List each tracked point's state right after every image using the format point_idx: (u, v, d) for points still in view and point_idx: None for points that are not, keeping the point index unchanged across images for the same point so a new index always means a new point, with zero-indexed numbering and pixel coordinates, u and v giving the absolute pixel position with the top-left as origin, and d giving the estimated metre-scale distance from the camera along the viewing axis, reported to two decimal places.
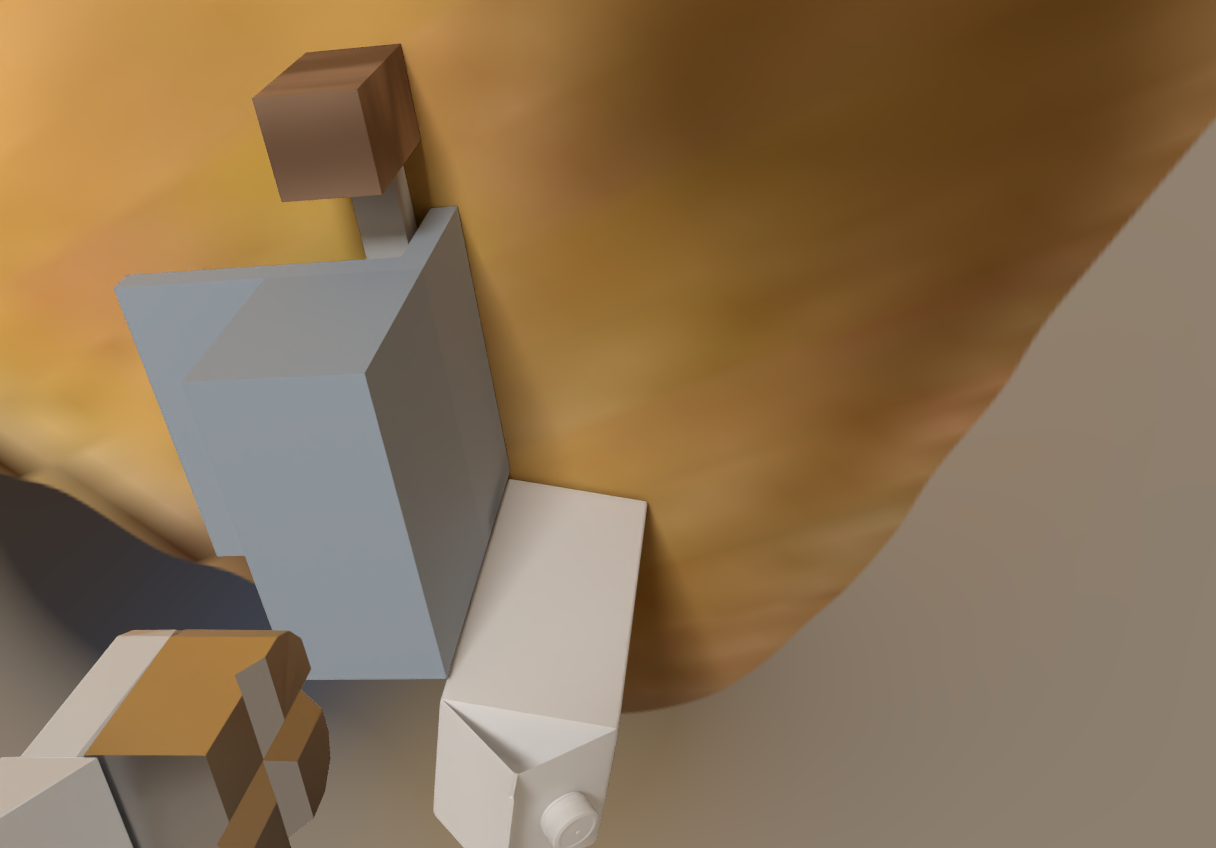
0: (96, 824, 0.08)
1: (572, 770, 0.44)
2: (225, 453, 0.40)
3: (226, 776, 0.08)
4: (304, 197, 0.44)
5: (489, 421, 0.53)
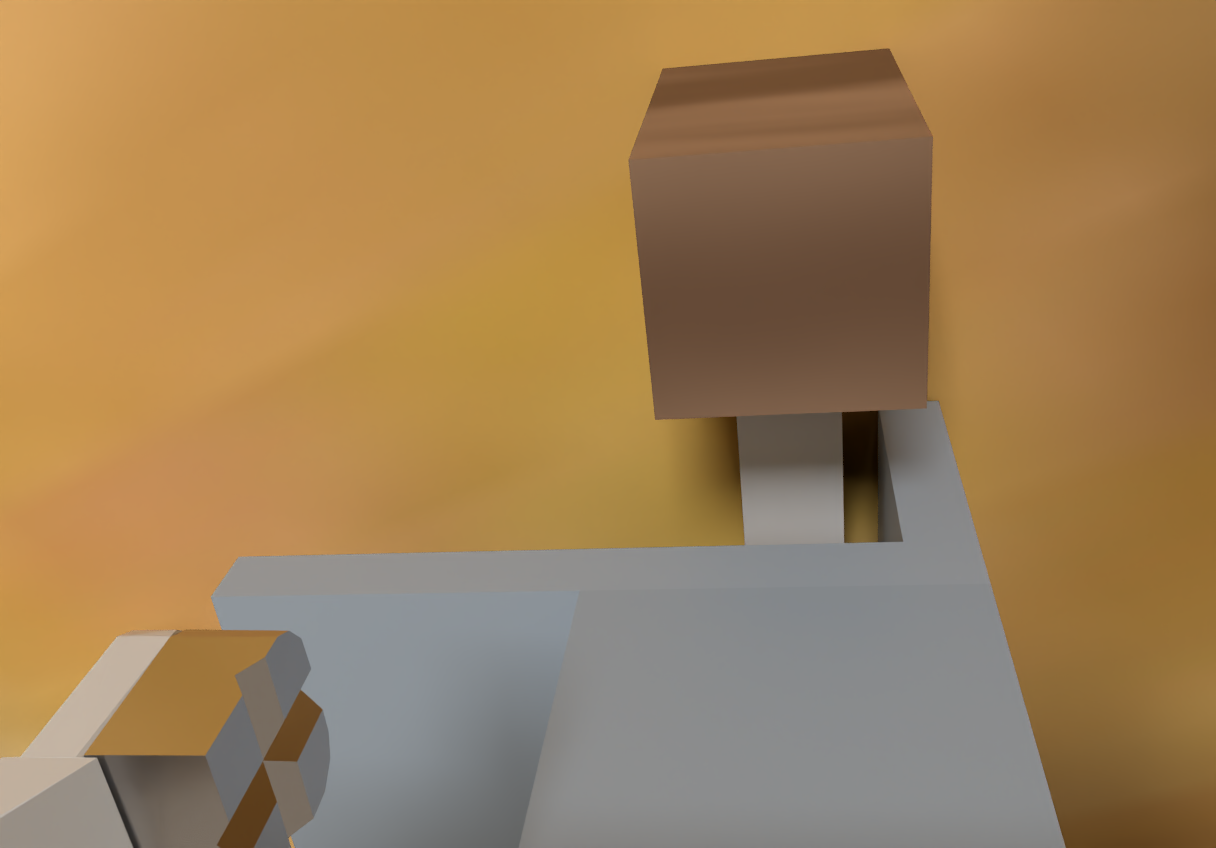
0: (96, 824, 0.08)
1: None
2: None
3: (226, 776, 0.08)
4: (717, 410, 0.17)
5: None
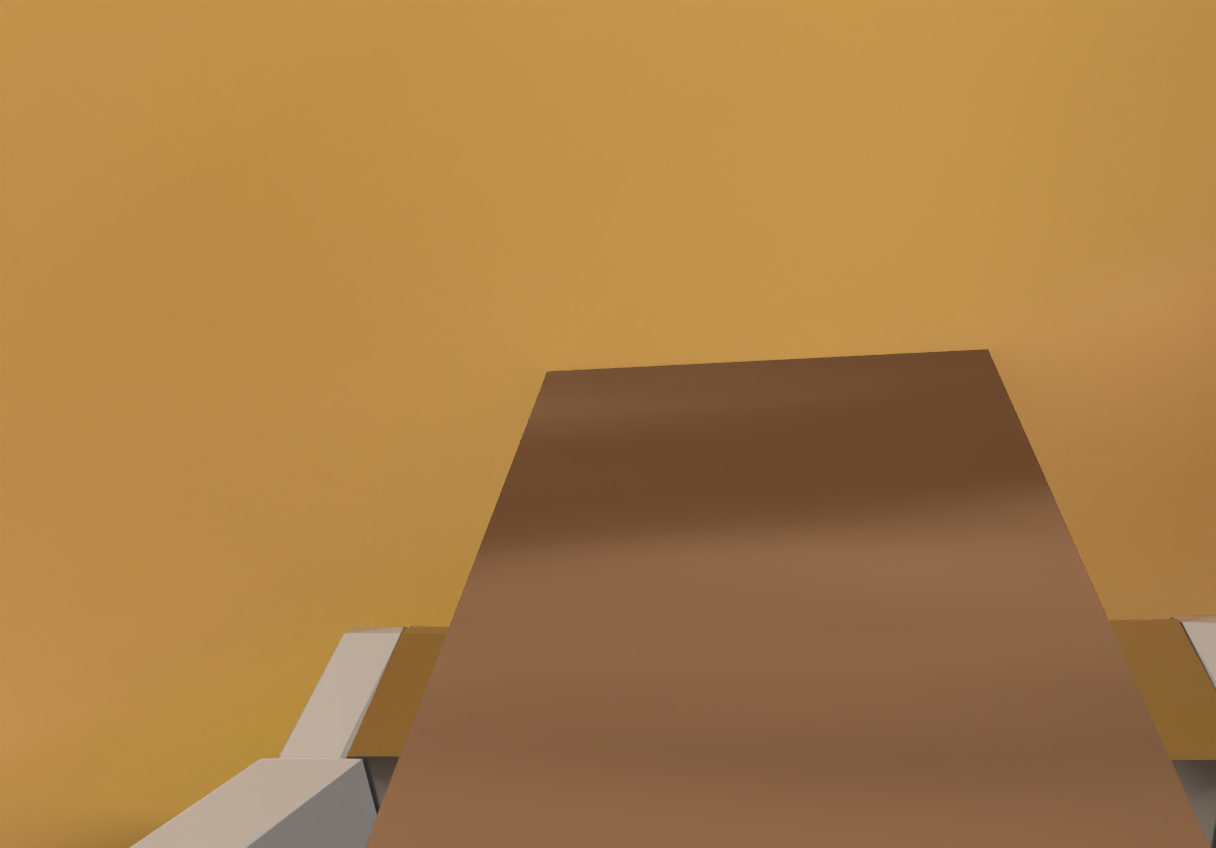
0: (358, 828, 0.08)
1: None
2: None
3: None
4: None
5: None
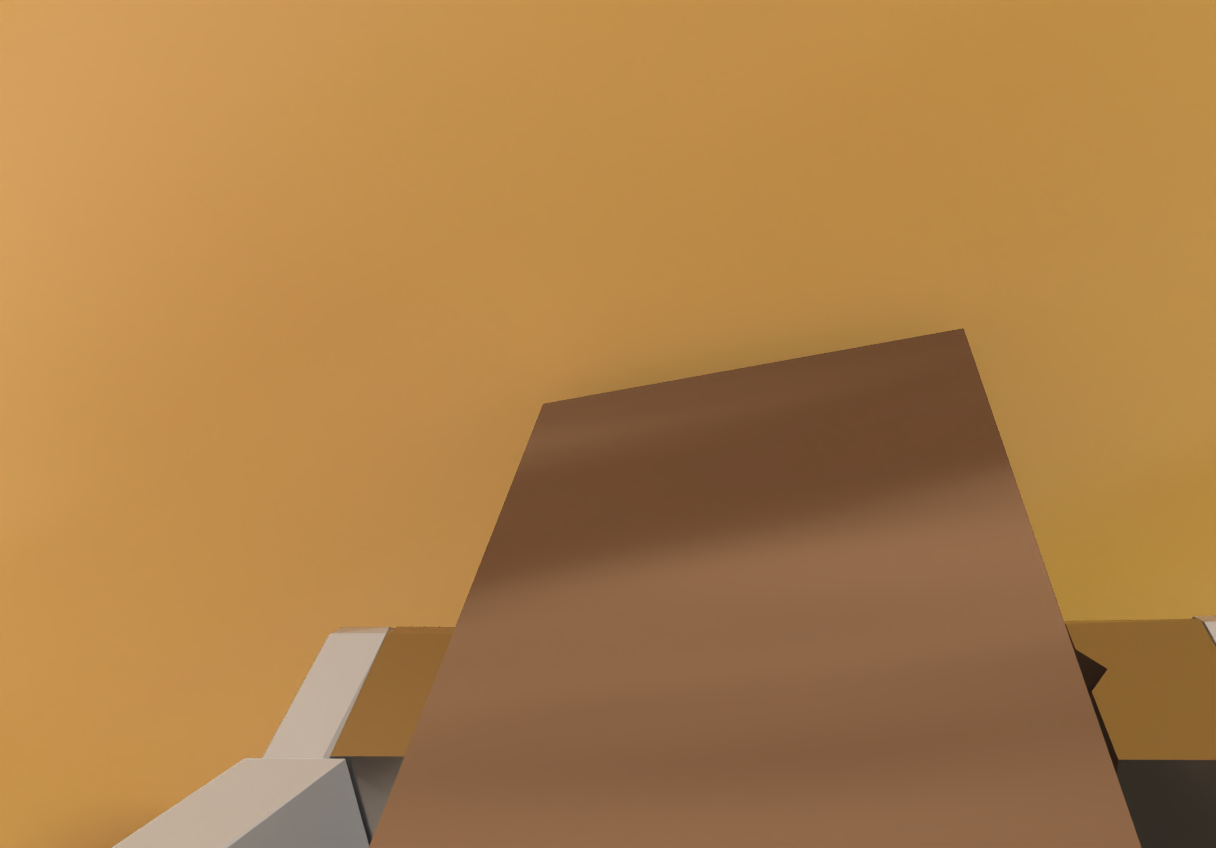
0: (342, 827, 0.08)
1: None
2: None
3: None
4: None
5: None
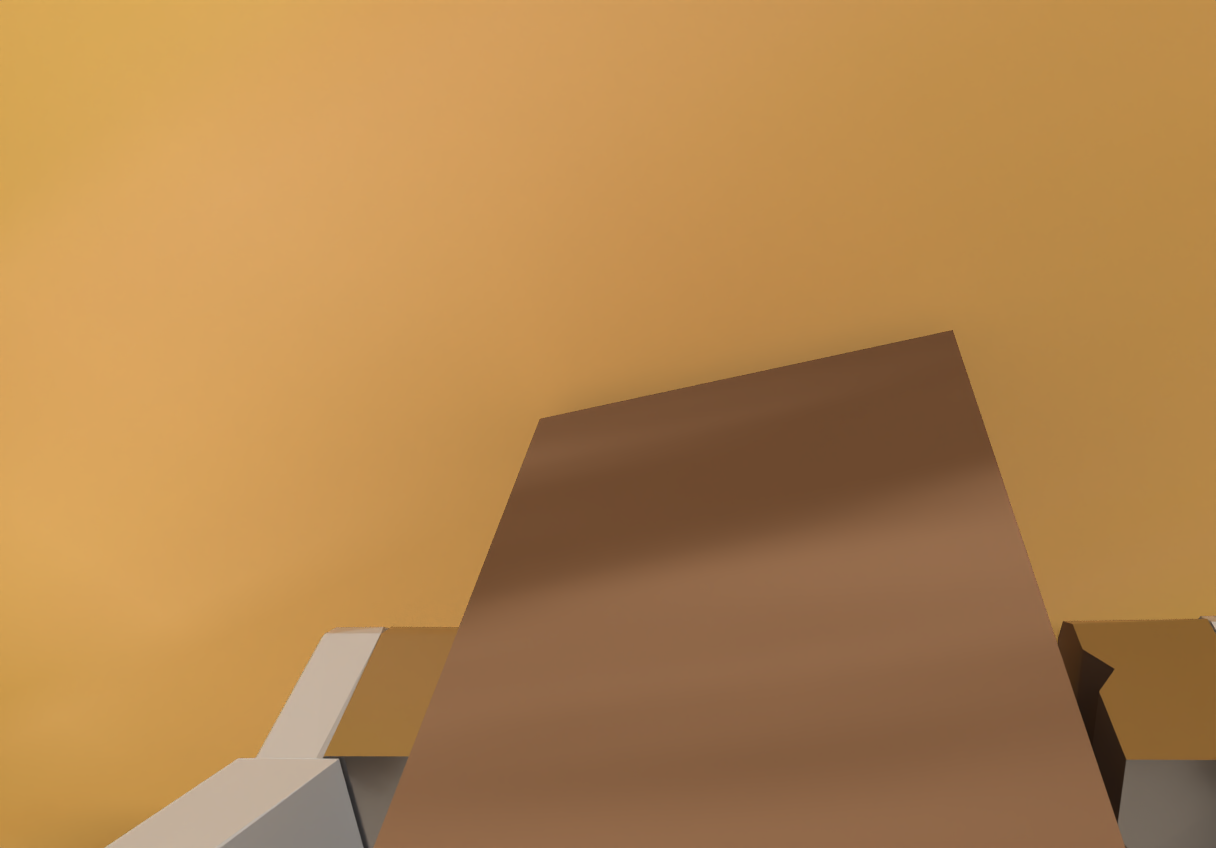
0: (335, 827, 0.08)
1: None
2: None
3: None
4: None
5: None
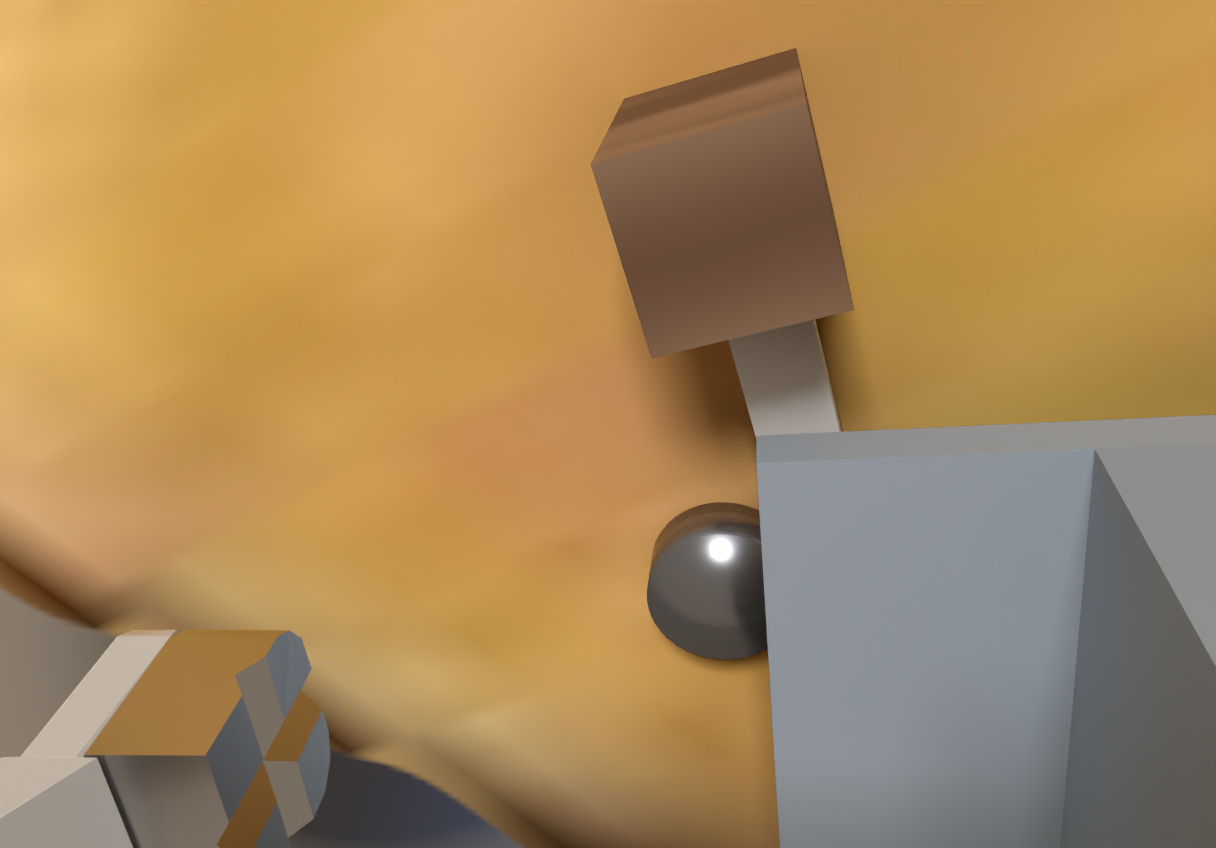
0: (97, 824, 0.08)
1: None
2: None
3: (227, 775, 0.08)
4: (696, 341, 0.22)
5: None
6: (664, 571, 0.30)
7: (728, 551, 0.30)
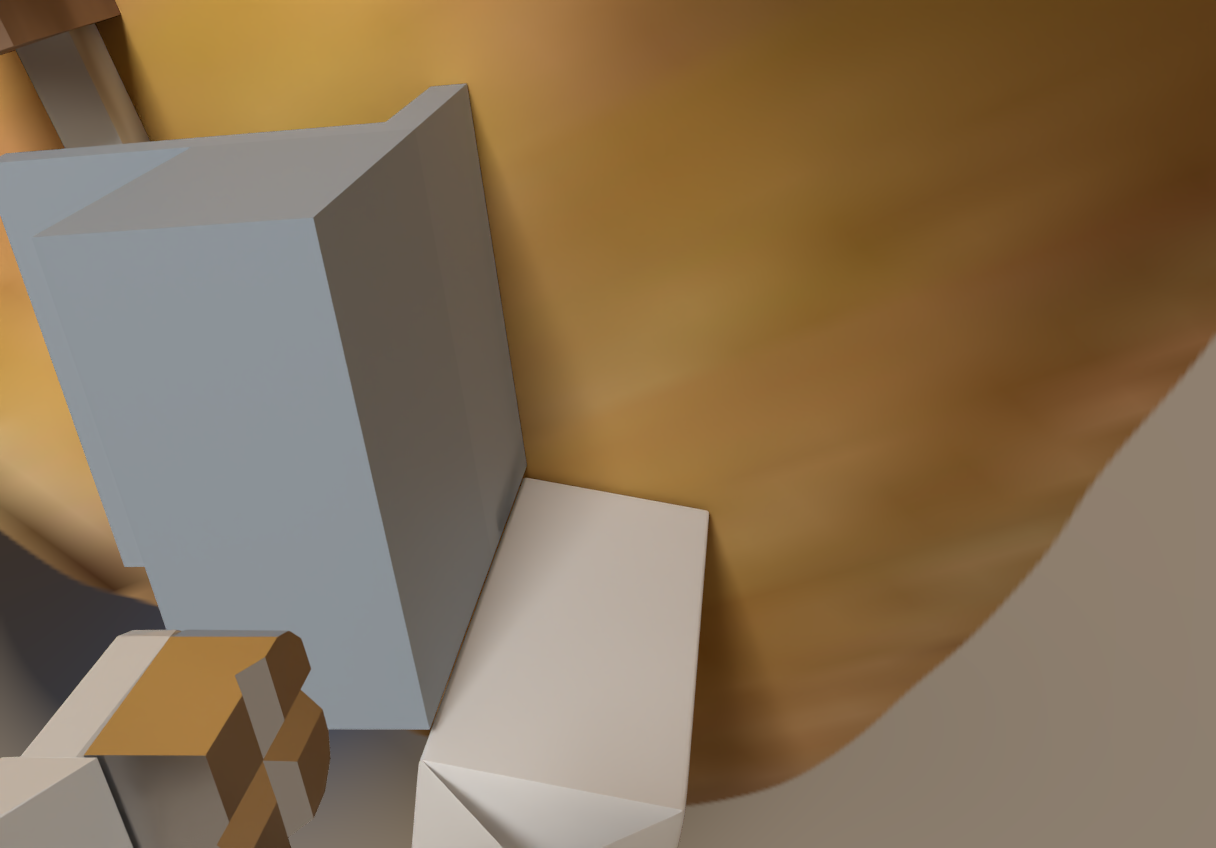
0: (96, 824, 0.08)
1: None
2: (101, 358, 0.26)
3: (226, 776, 0.08)
4: None
5: (502, 388, 0.40)
6: None
7: None
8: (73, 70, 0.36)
